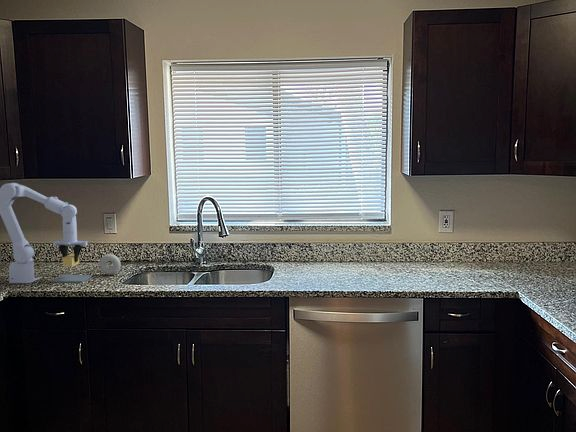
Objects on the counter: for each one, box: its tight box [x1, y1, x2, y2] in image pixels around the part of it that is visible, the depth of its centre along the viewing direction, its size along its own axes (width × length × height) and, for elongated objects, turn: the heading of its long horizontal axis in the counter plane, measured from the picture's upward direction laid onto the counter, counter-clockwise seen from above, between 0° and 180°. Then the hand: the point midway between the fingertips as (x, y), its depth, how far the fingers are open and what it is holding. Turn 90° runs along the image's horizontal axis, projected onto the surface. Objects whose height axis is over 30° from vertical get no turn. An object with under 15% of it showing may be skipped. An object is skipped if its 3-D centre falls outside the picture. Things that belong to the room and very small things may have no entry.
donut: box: [98, 253, 122, 276], centre depth 242 cm, size 10×4×10 cm, turn 92°
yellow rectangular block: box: [62, 253, 80, 268], centre depth 231 cm, size 8×4×4 cm, turn 0°
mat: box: [50, 274, 93, 284], centre depth 232 cm, size 14×12×1 cm
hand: (71, 261), depth 231 cm, fingers closed on yellow rectangular block, 4 cm apart
